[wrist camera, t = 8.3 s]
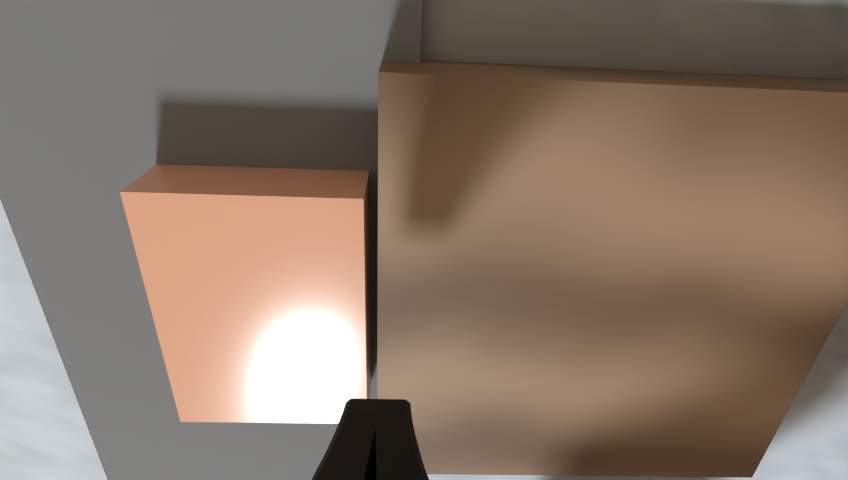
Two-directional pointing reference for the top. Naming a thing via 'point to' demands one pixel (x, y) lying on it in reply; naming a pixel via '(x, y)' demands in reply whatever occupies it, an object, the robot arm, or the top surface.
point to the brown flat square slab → (605, 263)
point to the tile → (257, 288)
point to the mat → (174, 145)
